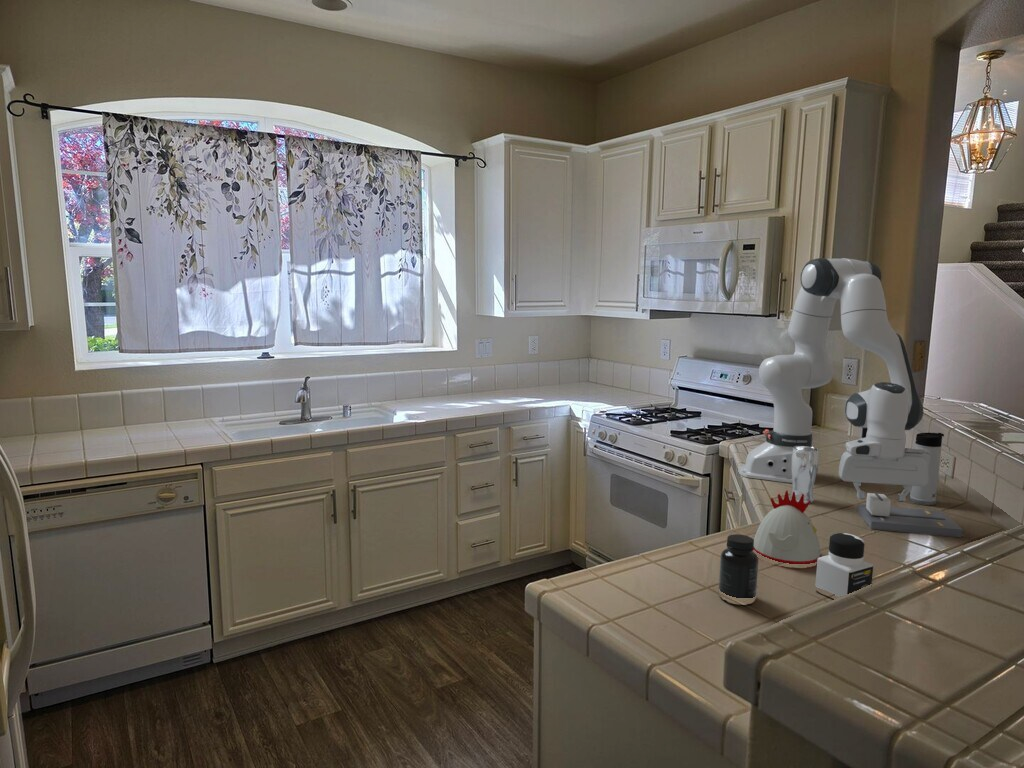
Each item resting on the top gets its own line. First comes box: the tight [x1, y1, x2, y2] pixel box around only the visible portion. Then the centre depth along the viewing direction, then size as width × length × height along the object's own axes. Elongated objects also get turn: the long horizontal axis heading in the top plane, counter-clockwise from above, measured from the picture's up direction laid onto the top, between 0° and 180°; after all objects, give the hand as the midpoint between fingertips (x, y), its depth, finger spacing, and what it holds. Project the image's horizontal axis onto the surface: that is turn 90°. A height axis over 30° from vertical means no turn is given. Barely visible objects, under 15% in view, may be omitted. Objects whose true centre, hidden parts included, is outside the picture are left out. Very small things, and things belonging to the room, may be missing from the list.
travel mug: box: [909, 432, 945, 506], centre depth 187 cm, size 6×7×20 cm
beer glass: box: [789, 446, 820, 504], centre depth 188 cm, size 7×7×15 cm
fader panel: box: [856, 503, 963, 538], centre depth 171 cm, size 20×14×2 cm
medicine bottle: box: [814, 532, 874, 597], centre depth 129 cm, size 7×7×12 cm
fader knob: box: [865, 492, 892, 516], centre depth 172 cm, size 4×6×4 cm, turn 165°
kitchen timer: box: [753, 490, 821, 564], centre depth 148 cm, size 14×14×15 cm
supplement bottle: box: [718, 533, 759, 598], centre depth 128 cm, size 7×7×12 cm
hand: (880, 499), depth 171 cm, fingers open, 8 cm apart
